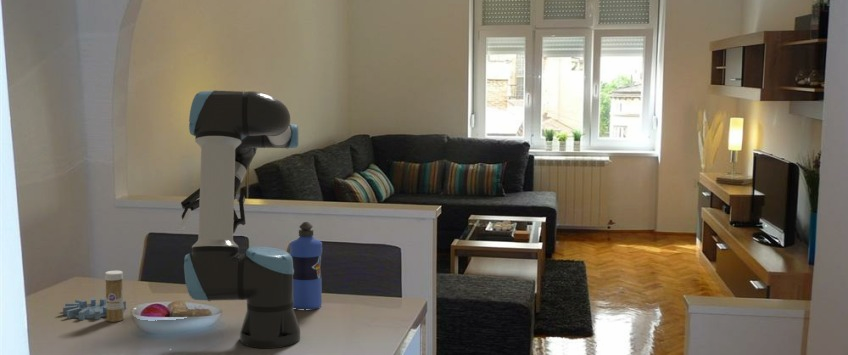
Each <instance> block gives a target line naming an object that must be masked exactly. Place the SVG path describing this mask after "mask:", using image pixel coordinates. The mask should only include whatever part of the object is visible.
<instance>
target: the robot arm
mask: <svg viewBox="0 0 848 355" xmlns="http://www.w3.org/2000/svg"><path fill="white" fill-rule="evenodd" d="M188 117H189V120H188V122H189V125H188V129H189V133H190V135H191V136H194V137H195V140H194V142H195V143H196V144H197V145H198V146H199V147H200V149H201V150H200V151H201V152H200V176H199V177H200V180H199V182H200V183H199V188H198V189H197V190H195V191H194V192H193V193H191V194H190V195H189V196H187V197H186V198H185V199H183V200H182V201H181V202H180V203H181V204H180V206H181V208H182V209H183V212H182V214H181V219H182V220H181V223H180V224H179V229H180V232H181V231H182V232H184V231H185V229H186V227H187V225H188V223H189V220H191V219H190V218H191V217H192V215H193V211H195V210H197V209H198V208H199V209H198V238H197V241H196V242H195V243H194V244H193V245H191V253H187V254H185V256H184V258H183V259H184V261H183V262H184V263H183V271H184V281H185V286H186V289H187V290H186V291H187V292H188V295H189V297H190V298H191V299H193V300H195V301H207V302H211V301H246V313H245V316H244V319H243V322H242V326H241V328H240V333H239V336H240V339H239V341H240V342H241V344H243V345H244V346H248V347H251V348H257V349H258V348H259V349H260V348H261V349H272V348H276V349H277V348H283V347H287V346H290V345H291V346H292V345H294V344H296V343H297V342H298V341H300V340H301V328H300V325H299V321H298V319H297V316H296V314H295V313H296V312H295V310H294V309H293V273H294V269H293V259H292V256H291V255H290V252H288V251H286V250H283V249H280V248H275V247H271V246H270V247H268V246H251V247H248V248H247V249H246V251H245V253H240V247H239V245H238V243H236V242H235V241H234V234H235V232H236V230H237V228H238V226H239V225H242V226H245V225H246V224H247V223H246V216H245V215H246V214H245V207H244V206H245V205H244V203H245V200H246V199H245V198H246V197H245V194H244V193H240V194H237V193H238V191H239V189H240V187H241V185H242V182H243V180H244V178H245V176H246V174H247V171H248V169H249V167H250V166H251V163H252V161H253V159H254V157H255V155H256V154H257V150H258V149H265V148H266V149H267V148H268V149H287V150H288V149H295V148H298V146H299V138H300V137H299V133H300V132H299V126H298V125H297V124H293V123H291V114H290V111H289V109H288V107H287V106H286V105H285V104H284V103H283V102H282V101H281V100H279V99H277V98H275V97H274V96H272V95H269V94H266V93H263V92H260V91H253V90H251V91H238V90H237V91H236V90H216V89H214V90H207V91H206V90H203V91H198V92H197V93H196V94H195V95H194V97H193V99H192V102H191V105H190V110H189V116H188ZM235 200H236V201H237V202H238V205H239V215H240V218H239V217H238V215H237V212H236V210H235Z"/></svg>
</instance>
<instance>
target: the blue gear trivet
mask: <svg viewBox="0 0 848 355" xmlns="http://www.w3.org/2000/svg"><path fill="white" fill-rule="evenodd" d="M125 310H127V302H126V300H123V314H124V313H125ZM62 316H63V317H64V316H66V319H69V320H70V319H78V320H79V321H85V320H90V319H92V320H93V319H94V320H95V321H96V320H101V318H107V312H106V296H104V297H102V298H100V300H99V302H96V297H95V296H91V297H89V303H87V300H83V299H80V298H78V299H75V300H74V302H66V303H65V305H64V306H62Z"/></svg>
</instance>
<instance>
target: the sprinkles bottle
mask: <svg viewBox="0 0 848 355" xmlns="http://www.w3.org/2000/svg"><path fill="white" fill-rule="evenodd" d="M104 279H105V297H106V312H107V317H105V318H106V319H105V320H106V321H107V322H112V323H113V322H115V323H116V322H120V321H123V320H124V313H123V301H124V288H123V279H124V273H123V270H108V271H105V273H104Z"/></svg>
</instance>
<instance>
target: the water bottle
mask: <svg viewBox="0 0 848 355" xmlns="http://www.w3.org/2000/svg"><path fill="white" fill-rule="evenodd" d="M299 228H300V229H298V236H299V237H298V238H297V239H294V240H293V241H291V242H289V254H290V255H291V256H292V259H293V269H294V273H293V308H296V309H304V310H306V309H316V308H319V307H321V308H322V306H321V305H322V304H323V303H322V302H323V301H322V298H323V297H322V293H323V292H322V289H323V288H322V287H323V286H322V283H323V282H322V279H323V278H322V272H321V264H322V263H321V261H322V254H323V242H322V241H320V240H318V239H316V238H315V237H314V229H312V228H313V225H312V224H311V223H310V222H308V221H305V222H302V223H301V224H300V225H299ZM319 309H320V308H319ZM316 310H317V309H316Z"/></svg>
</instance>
